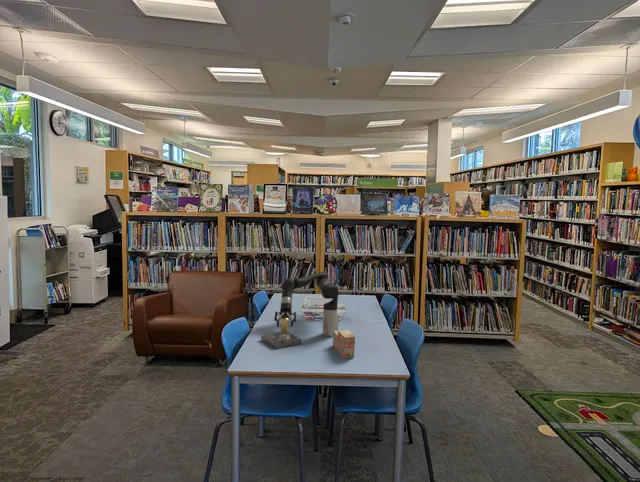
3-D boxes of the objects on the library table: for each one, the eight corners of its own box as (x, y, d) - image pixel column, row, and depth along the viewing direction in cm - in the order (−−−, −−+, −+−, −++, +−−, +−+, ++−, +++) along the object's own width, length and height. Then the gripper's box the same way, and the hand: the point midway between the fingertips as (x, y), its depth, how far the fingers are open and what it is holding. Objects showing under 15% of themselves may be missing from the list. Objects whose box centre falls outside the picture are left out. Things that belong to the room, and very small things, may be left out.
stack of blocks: (332, 345, 247) (333, 325, 246) (342, 345, 249) (343, 325, 248) (343, 358, 226) (344, 336, 225) (354, 357, 228) (355, 336, 227)
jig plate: (286, 335, 263) (286, 331, 262) (301, 343, 248) (301, 339, 248) (261, 340, 252) (261, 335, 252) (275, 349, 238) (275, 344, 237)
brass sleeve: (285, 331, 271) (286, 316, 271) (289, 333, 267) (290, 318, 267) (279, 332, 268) (279, 317, 268) (283, 334, 264) (283, 319, 264)
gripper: (296, 308, 280) (295, 329, 269) (276, 307, 280) (274, 329, 269) (296, 302, 274) (295, 324, 264) (275, 301, 274) (273, 323, 263)
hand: (284, 326), depth 266 cm, fingers open, 8 cm apart
